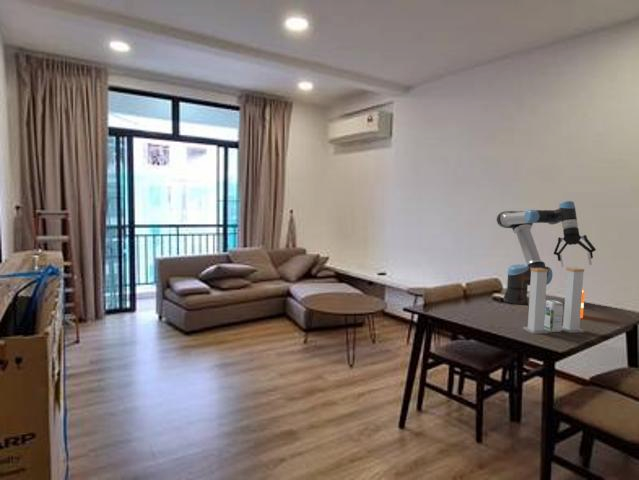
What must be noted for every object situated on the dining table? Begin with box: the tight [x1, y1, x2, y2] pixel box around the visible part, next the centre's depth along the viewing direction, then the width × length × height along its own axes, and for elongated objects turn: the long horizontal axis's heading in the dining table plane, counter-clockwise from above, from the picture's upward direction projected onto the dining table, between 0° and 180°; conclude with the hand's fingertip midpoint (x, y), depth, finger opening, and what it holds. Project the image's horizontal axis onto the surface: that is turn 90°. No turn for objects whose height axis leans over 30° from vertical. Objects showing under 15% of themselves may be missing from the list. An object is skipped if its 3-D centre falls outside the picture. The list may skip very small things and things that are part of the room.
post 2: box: [561, 267, 585, 334], centre depth 208 cm, size 8×8×31 cm
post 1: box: [522, 268, 549, 335], centre depth 206 cm, size 8×8×31 cm
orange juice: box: [580, 288, 585, 319], centre depth 235 cm, size 8×9×20 cm
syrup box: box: [544, 299, 564, 333], centre depth 208 cm, size 6×6×14 cm
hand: (576, 265), depth 233 cm, fingers open, 13 cm apart
